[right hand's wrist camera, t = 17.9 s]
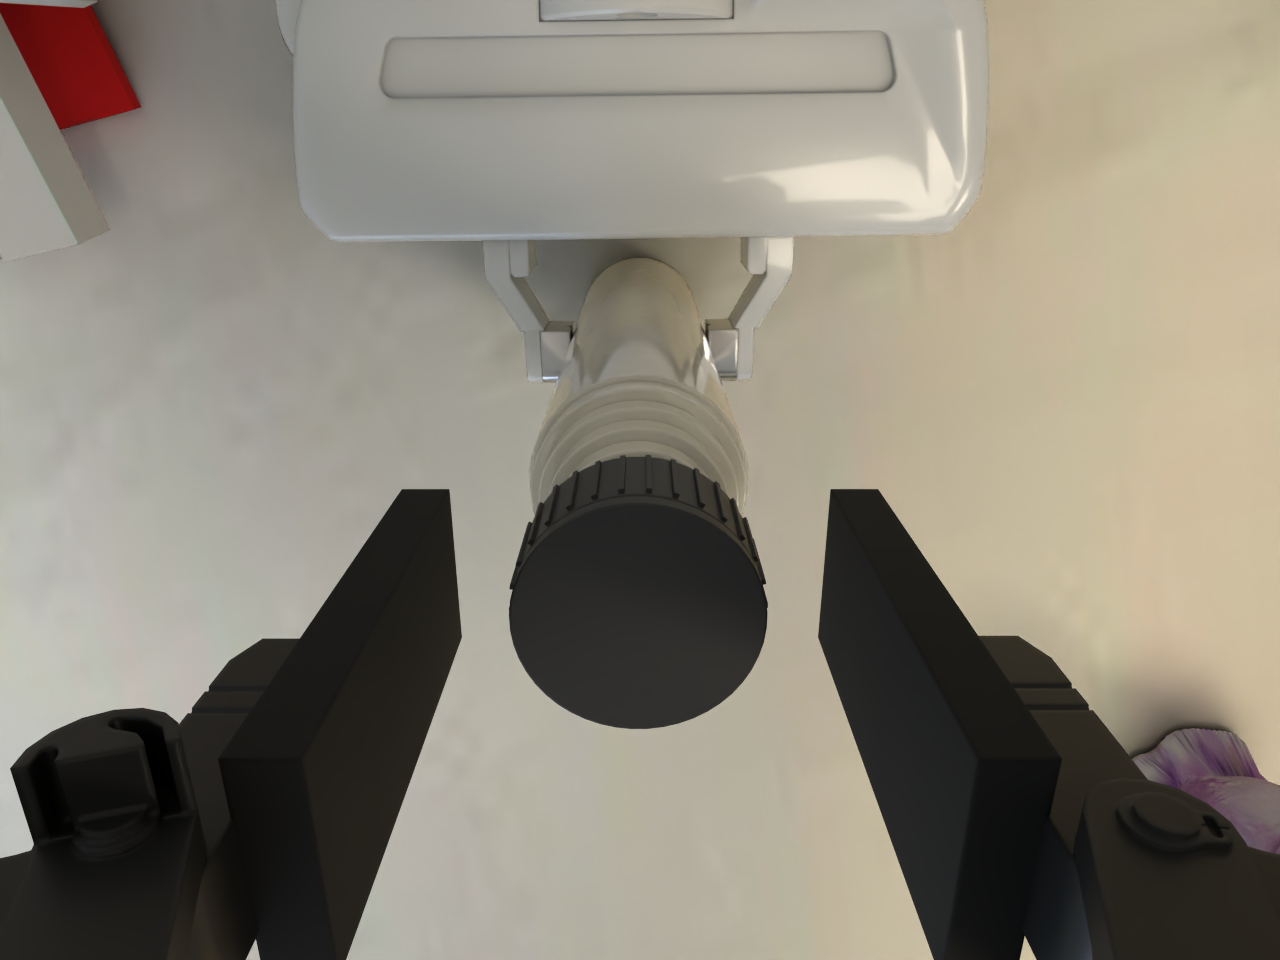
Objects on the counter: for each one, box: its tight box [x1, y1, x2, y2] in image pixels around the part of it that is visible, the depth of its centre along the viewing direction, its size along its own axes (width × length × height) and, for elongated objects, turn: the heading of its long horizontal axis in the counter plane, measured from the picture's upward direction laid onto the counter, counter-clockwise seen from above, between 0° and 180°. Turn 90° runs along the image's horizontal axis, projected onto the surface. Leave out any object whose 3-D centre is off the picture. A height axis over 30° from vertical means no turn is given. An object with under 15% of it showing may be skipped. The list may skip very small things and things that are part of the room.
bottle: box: [530, 258, 748, 516], centre depth 24 cm, size 4×4×24 cm
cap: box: [509, 455, 768, 729], centre depth 14 cm, size 4×4×2 cm
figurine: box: [1132, 728, 1280, 855], centre depth 37 cm, size 9×10×15 cm
